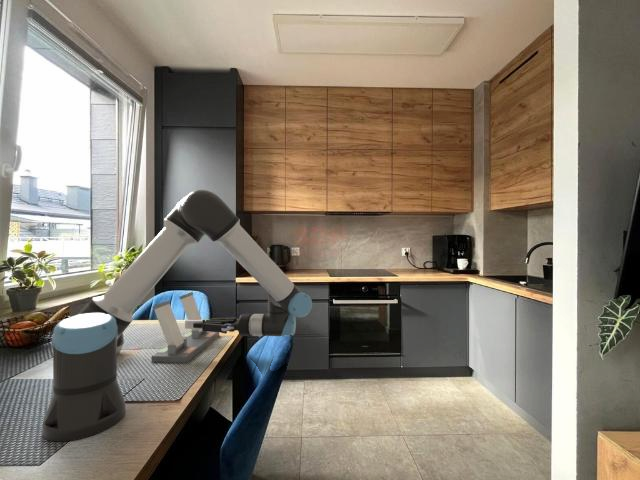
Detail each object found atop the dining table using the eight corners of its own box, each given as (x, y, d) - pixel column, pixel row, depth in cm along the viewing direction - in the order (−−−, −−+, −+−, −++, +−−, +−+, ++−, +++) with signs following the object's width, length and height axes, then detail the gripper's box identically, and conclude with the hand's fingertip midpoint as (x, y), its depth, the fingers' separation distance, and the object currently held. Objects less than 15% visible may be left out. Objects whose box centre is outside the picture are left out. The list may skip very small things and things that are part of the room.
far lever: (206, 330, 134) (192, 291, 134) (200, 335, 128) (185, 294, 128) (200, 333, 134) (186, 294, 134) (193, 337, 128) (179, 296, 128)
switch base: (219, 335, 137) (219, 324, 137) (186, 362, 107) (186, 347, 107) (191, 335, 137) (191, 323, 137) (151, 362, 107) (151, 347, 107)
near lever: (186, 345, 116) (169, 300, 116) (177, 350, 110) (159, 303, 110) (179, 347, 116) (162, 303, 116) (170, 353, 110) (152, 306, 110)
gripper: (246, 341, 105) (177, 340, 106) (256, 330, 118) (194, 329, 119) (246, 318, 105) (176, 318, 106) (256, 310, 118) (194, 309, 119)
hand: (186, 324), depth 113 cm, fingers closed
